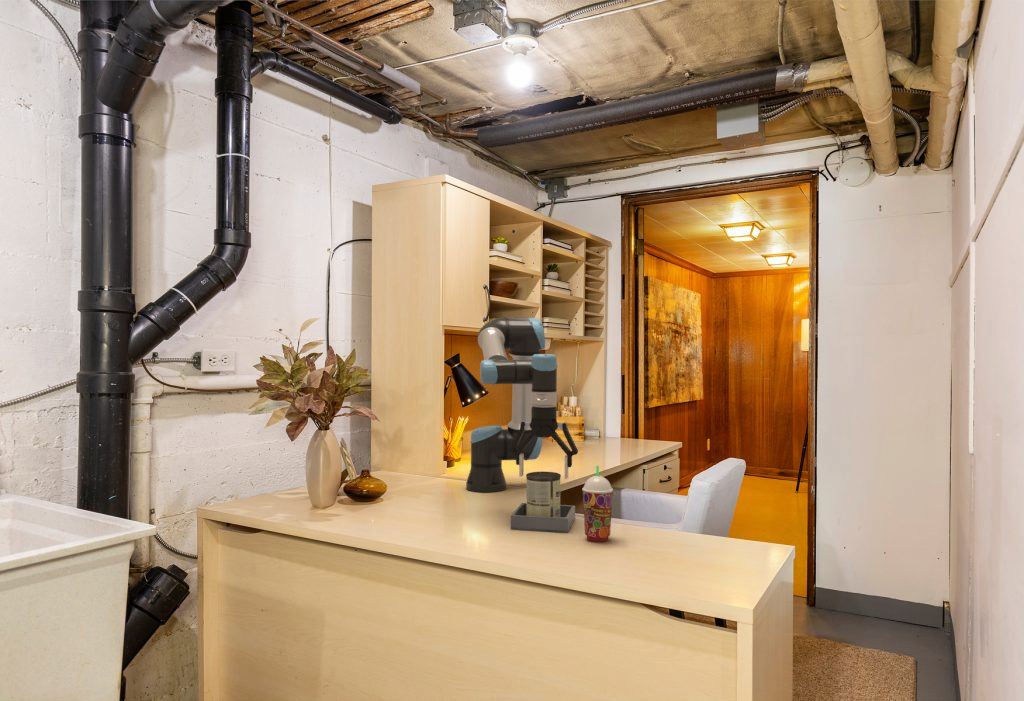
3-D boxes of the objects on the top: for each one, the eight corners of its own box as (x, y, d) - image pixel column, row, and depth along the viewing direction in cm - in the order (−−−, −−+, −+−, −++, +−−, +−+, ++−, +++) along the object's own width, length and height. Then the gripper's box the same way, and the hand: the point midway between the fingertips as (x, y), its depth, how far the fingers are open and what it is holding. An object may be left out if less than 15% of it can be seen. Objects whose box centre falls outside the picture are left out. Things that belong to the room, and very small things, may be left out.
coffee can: (527, 517, 201) (527, 470, 201) (560, 518, 200) (561, 471, 200) (524, 525, 191) (524, 477, 191) (560, 526, 190) (560, 477, 190)
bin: (522, 515, 205) (522, 503, 205) (575, 518, 201) (575, 505, 201) (510, 529, 189) (510, 515, 189) (568, 532, 185) (568, 518, 185)
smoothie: (593, 545, 173) (593, 469, 173) (576, 537, 181) (576, 464, 181) (619, 541, 177) (619, 466, 177) (601, 533, 184) (601, 462, 185)
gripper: (500, 406, 194) (500, 477, 195) (584, 408, 189) (584, 481, 189) (506, 403, 202) (505, 472, 202) (587, 405, 196) (586, 476, 197)
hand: (543, 477), depth 196 cm, fingers open, 13 cm apart
